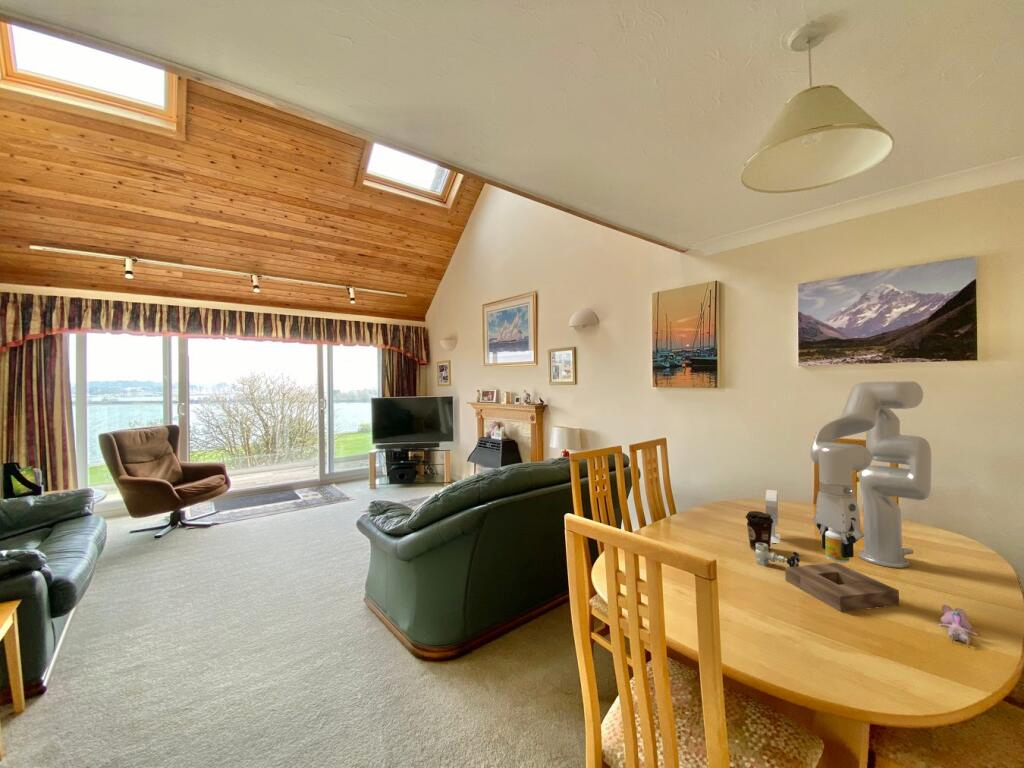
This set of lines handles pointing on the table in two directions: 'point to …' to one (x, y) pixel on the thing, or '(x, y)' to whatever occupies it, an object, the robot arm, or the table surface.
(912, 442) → the robot arm
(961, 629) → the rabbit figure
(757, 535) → the coffee cup
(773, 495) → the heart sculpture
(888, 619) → the table surface
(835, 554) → the supplement bottle
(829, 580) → the socket block
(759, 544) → the valve
